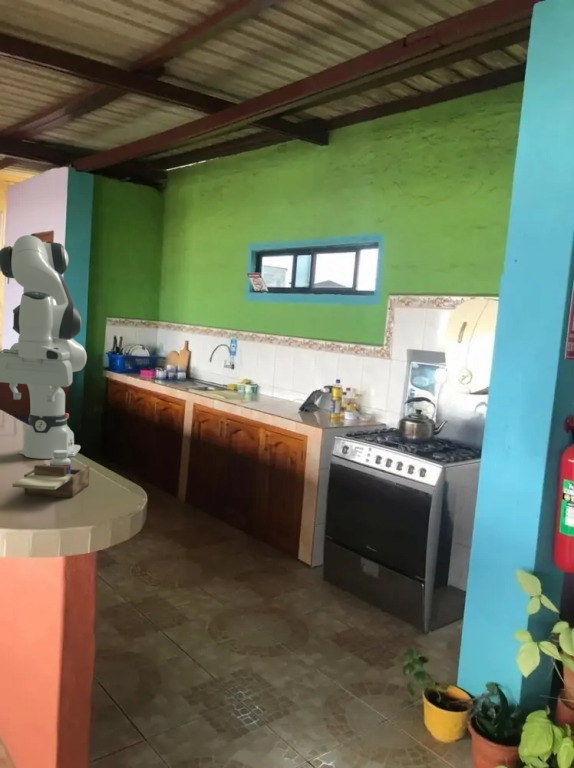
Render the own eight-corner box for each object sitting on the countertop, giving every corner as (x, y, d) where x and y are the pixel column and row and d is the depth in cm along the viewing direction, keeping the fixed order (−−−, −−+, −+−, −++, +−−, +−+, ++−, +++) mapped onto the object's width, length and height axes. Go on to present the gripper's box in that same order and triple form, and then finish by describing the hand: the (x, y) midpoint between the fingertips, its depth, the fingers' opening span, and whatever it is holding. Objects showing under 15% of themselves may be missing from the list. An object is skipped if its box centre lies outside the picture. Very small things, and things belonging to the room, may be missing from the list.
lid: (34, 474, 172) (34, 463, 172) (73, 477, 172) (73, 465, 172) (12, 487, 159) (12, 474, 159) (55, 489, 159) (55, 476, 159)
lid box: (43, 482, 182) (44, 464, 181) (88, 485, 181) (89, 466, 181) (24, 494, 169) (24, 474, 168) (72, 497, 169) (72, 477, 168)
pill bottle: (63, 489, 174) (63, 453, 173) (45, 487, 175) (46, 452, 174) (74, 484, 179) (74, 450, 178) (56, 482, 180) (57, 448, 179)
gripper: (-8, 349, 173) (-9, 399, 174) (67, 354, 173) (66, 404, 174) (3, 347, 179) (2, 396, 180) (75, 353, 179) (73, 401, 180)
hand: (34, 400), depth 177 cm, fingers open, 8 cm apart
